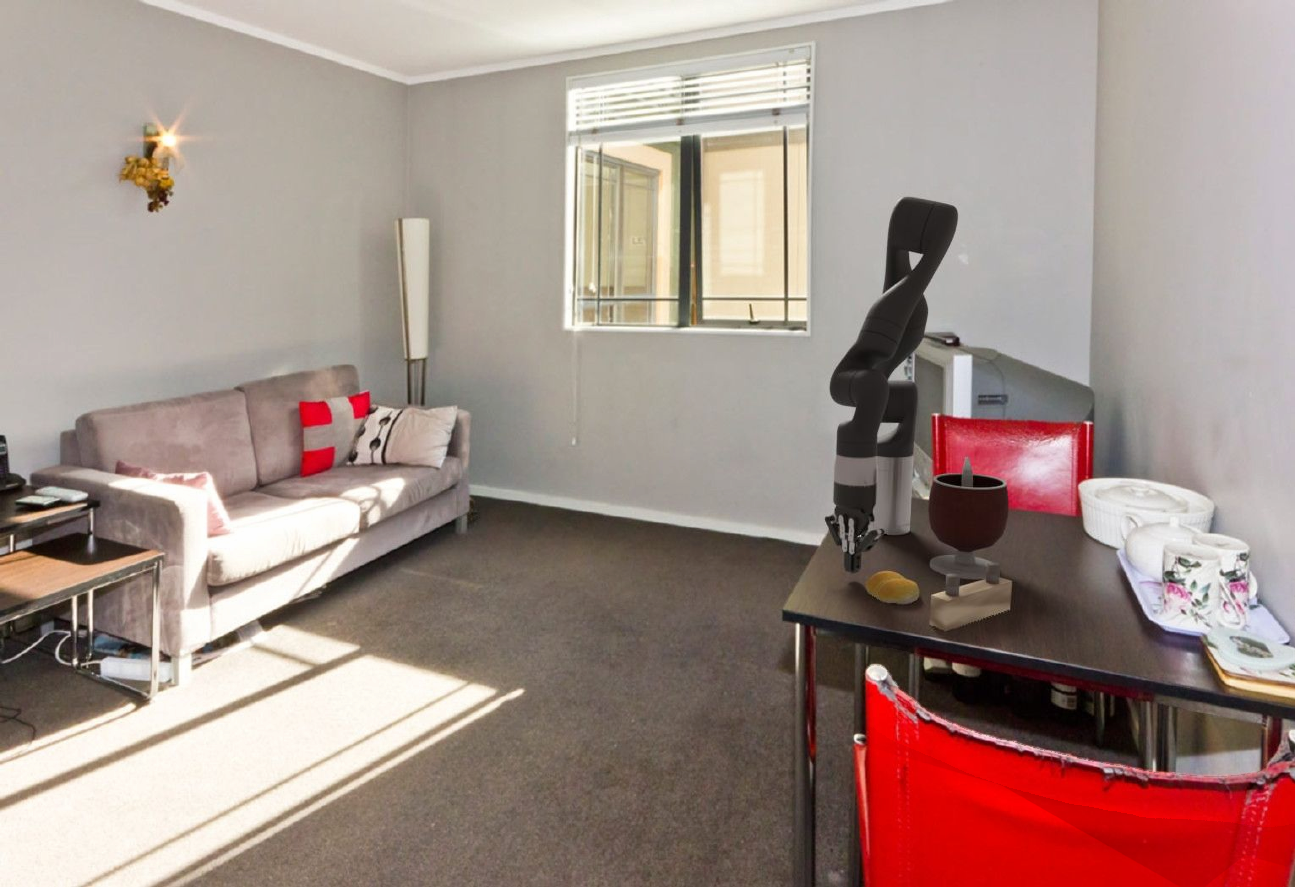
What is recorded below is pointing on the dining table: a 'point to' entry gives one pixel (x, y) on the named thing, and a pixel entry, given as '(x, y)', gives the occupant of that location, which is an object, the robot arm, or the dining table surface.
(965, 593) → the bar
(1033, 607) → the dining table surface
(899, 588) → the bread roll
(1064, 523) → the dining table surface
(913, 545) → the dining table surface
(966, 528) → the mate gourd
